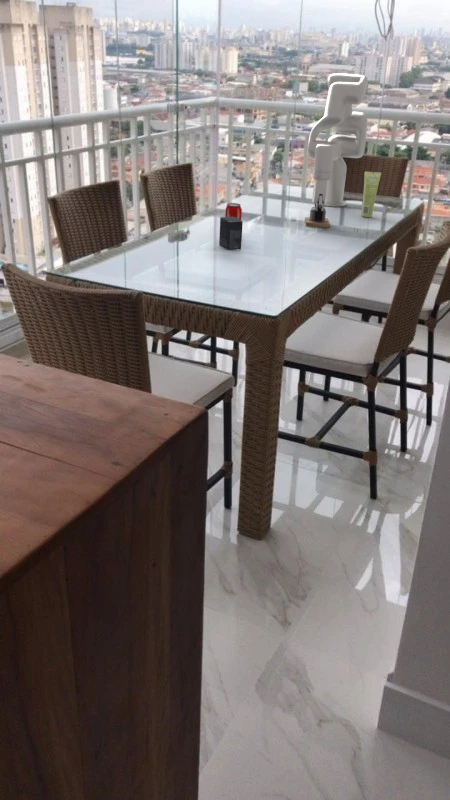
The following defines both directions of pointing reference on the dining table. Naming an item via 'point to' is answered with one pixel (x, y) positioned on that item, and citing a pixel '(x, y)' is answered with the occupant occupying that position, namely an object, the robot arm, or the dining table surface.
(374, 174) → the tube
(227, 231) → the box
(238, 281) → the dining table surface
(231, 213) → the soda can
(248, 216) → the dining table surface
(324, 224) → the stud block
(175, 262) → the dining table surface
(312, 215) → the cap
